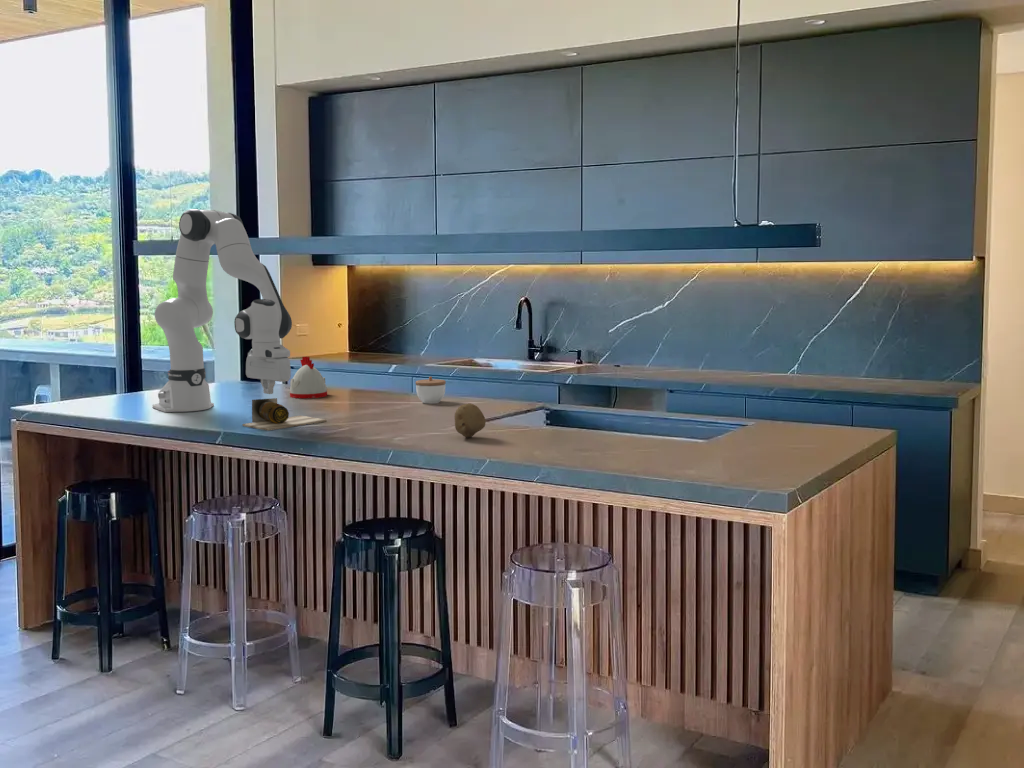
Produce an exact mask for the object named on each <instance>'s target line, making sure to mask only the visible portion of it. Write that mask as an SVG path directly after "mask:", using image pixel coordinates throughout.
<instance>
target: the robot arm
mask: <svg viewBox="0 0 1024 768" xmlns="http://www.w3.org/2000/svg"><path fill="white" fill-rule="evenodd" d="M178 227H179V232H180V235H179V238H178V239H179V240H178V242H177V247H176V250H175V251H176V252H175V257H174V265H173V272H172V279H173V281H174V283H175V284H176V286H177V297H171V298H168V299H166V300H164V301H162V302H159V304H158V305H157V306H156V308H155V310H154V319H155V322H156V323H157V325H158V326H159V327H160V328H161V329H162V332H163V333H164V335H165V338H166V341H167V345H168V349H169V363H170V365H169V366H170V369H169V370H167V375H168V376H167V377H168V378H167V380H168V381H167V382H166V383H165V384H164V386H162V387H161V389H160V390H159V392H158V393H157V397H158V400H159V401H158V403H155V404H152V408H153V409H156V410H158V411H160V412H163V413H171V412H172V413H174V412H178V413H179V412H181V413H182V412H183V413H184V412H197V411H205V410H209V409H211V408H212V407H215V403H213V402H212V399H211V398H212V397H211V392H210V384H209V383H208V382H207V381H206V379H207V377H206V375H207V372H206V368H205V367H204V366H205V365H204V363H205V362H204V349H203V348H204V347H203V344H202V343H200V341H199V340H198V338H197V335H196V331H195V329H197V328H200V327H202V326H205V325H206V324H208V323H209V322H210V321H211V320H212V318H213V314H214V310H213V306H212V304H211V303H210V301H209V296H208V290H207V278H208V271H209V263H210V256H211V255H210V254H211V253H210V252H211V249H212V246H214V245H215V249H216V253H217V257H218V258H217V259H218V262H219V265H220V267H221V268H222V270H223V272H225V273H226V274H228V276H230V277H233V278H235V279H238V280H241V281H245V282H248V283H249V284H251V285H253V286H254V287H256V288H257V289H258V290H259V292H260V295H261V297H262V299H261V298H258V299H254V300H253V301H252V302H251V303H250V306H248V307H247V308H246V309H243V310H240V311H239V312H238V313H237V314H236V315H235V317H234V331H235V333H236V334H237V335H238V336H239V337H240V338H241V339H245V340H251V347H252V348H251V349H250V350H249V351H248V352H247V357H246V361H245V375H246V377H247V378H250V379H257V380H260V384H261V387H262V388H263V389H262V390H263V391H262V392H263V394H268V395H273V394H274V388H275V385H276V382H280V383H283V382H289V381H290V380H291V374H292V373H291V371H292V370H291V360H290V357H291V350H290V349H288V348H287V347H285V346H283V344H281V339H284V338H285V337H286V336H288V334H289V333H290V331H291V330H292V326H293V321H292V318H291V314H290V313H289V311H288V310H287V308H286V307H285V305H284V302H283V301H282V299H281V298H282V297H281V296H280V294H279V291H278V289H277V287H276V285H275V282H274V280H273V277H272V276H271V273H270V272H269V269H268V268H267V266H266V265H264V264H263V263H262V262H261V261H260V260H259V259H258V258H257V257H256V255H255V253H254V252H253V249H252V245H251V242H250V238H249V236H248V234H247V233H248V232H247V231H246V229H245V227H244V223H243V221H242V219H241V217H240V216H238V215H237V214H235V213H232V212H225V211H221V210H216V209H210V210H209V209H198V208H191V209H187V210H185V211H183V213H181V216H180V218H179V223H178Z"/></svg>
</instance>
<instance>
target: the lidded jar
mask: <svg viewBox="0 0 1024 768" xmlns="http://www.w3.org/2000/svg"><path fill="white" fill-rule="evenodd" d="M446 384H447V383H446V380H444V379H439V378H433V376H429V377H428V379H426V378H425V379H418V380H416V381H415V391H416V395H417V397H418V399H419V400H420V401H421V402H422V404H427V405H429V404H432V405H433V404H439V403H440V402H441V401H442V399H443V398H444V396H445V394H446Z"/></svg>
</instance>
